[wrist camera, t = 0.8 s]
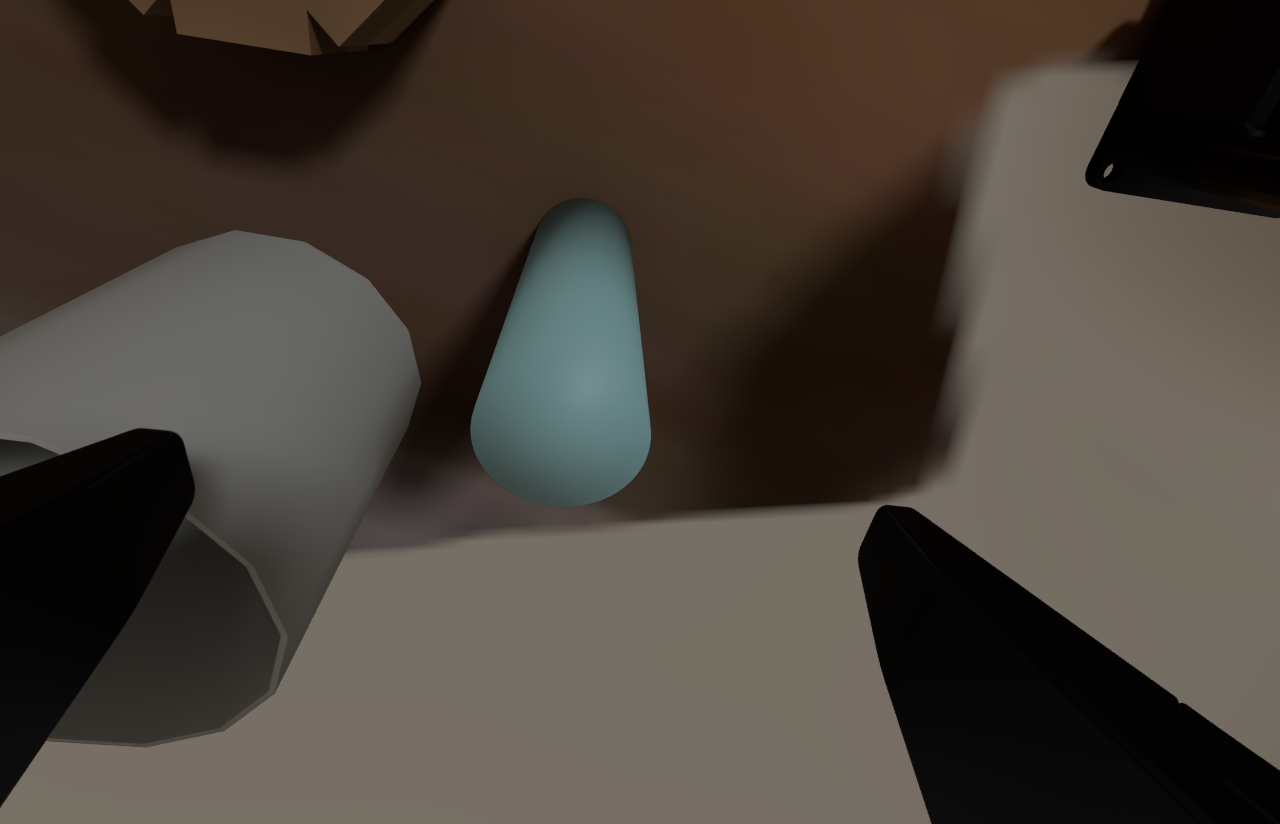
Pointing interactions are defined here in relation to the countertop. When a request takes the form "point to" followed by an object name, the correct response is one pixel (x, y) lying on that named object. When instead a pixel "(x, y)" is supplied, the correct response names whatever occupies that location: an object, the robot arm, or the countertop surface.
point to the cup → (219, 458)
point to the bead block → (291, 22)
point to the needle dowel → (568, 367)
